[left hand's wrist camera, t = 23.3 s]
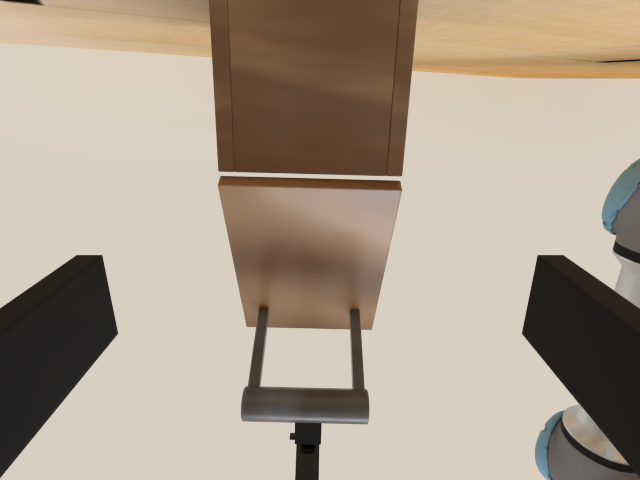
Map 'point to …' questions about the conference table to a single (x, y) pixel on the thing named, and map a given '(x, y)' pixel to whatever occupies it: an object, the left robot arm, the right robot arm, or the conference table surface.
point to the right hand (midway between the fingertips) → (306, 444)
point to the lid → (308, 277)
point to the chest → (312, 85)
